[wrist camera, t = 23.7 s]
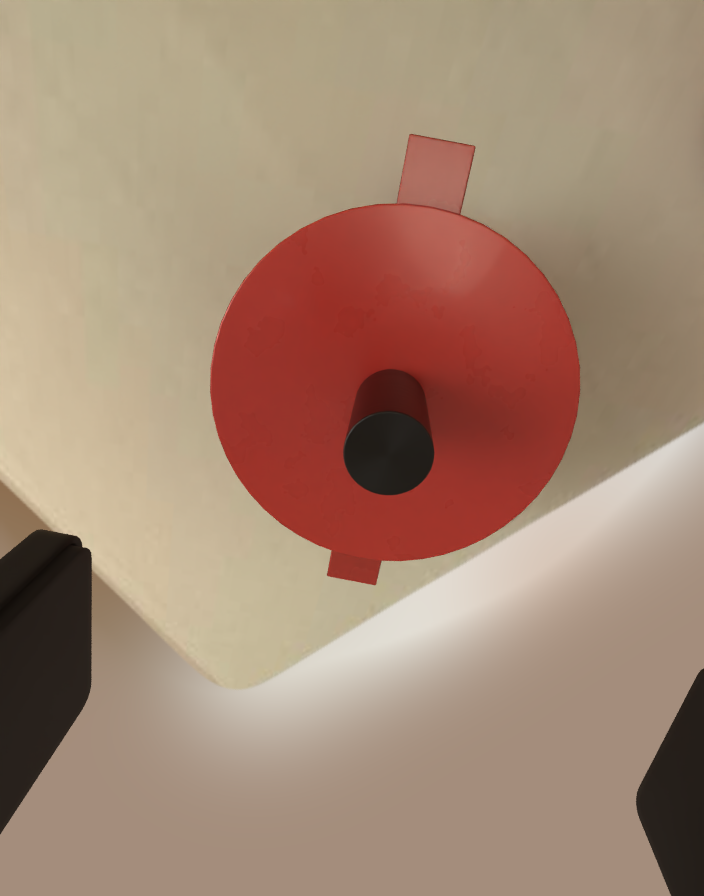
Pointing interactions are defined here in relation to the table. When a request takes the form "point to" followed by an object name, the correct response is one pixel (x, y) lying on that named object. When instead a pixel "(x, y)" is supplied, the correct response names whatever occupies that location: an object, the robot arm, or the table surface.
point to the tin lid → (395, 382)
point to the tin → (429, 184)
